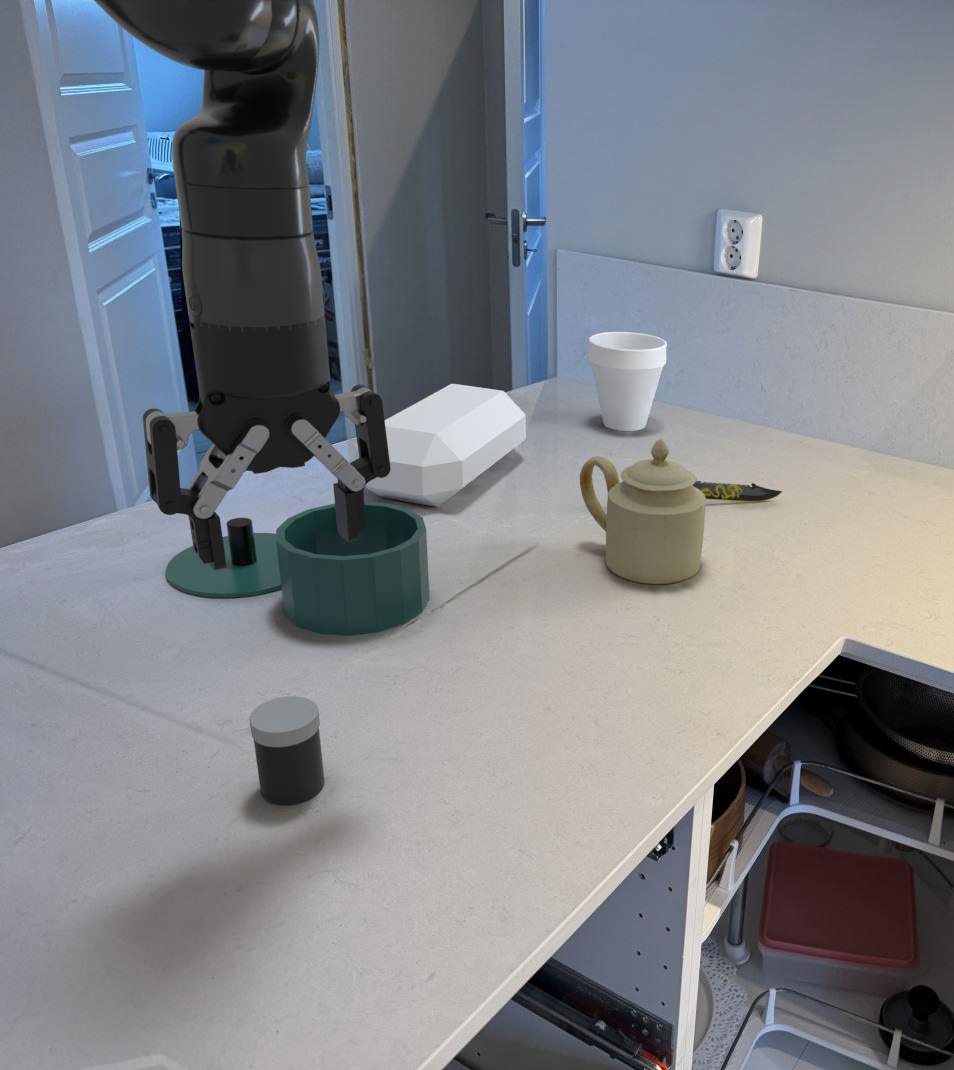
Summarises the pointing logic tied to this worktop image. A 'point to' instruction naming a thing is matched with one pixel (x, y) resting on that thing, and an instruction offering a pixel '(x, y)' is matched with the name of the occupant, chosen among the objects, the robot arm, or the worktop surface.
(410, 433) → the crystal
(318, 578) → the pot
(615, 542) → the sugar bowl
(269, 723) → the black jar
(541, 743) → the worktop surface
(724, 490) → the knife
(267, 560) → the lid
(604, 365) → the cup
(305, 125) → the robot arm
